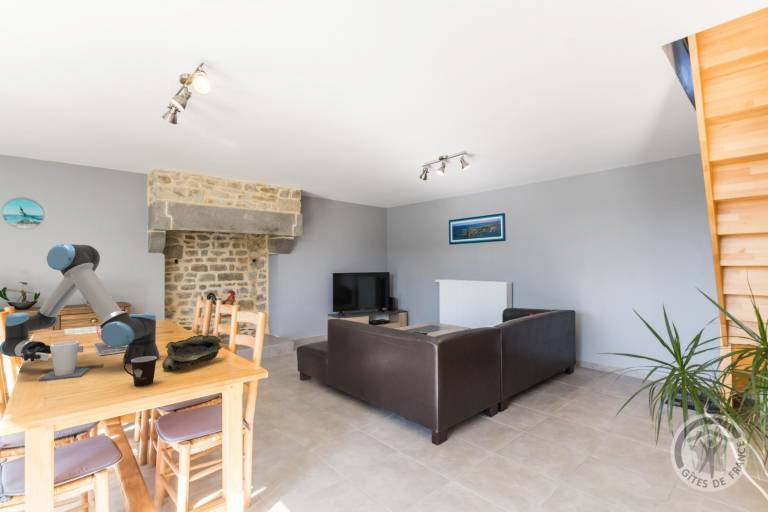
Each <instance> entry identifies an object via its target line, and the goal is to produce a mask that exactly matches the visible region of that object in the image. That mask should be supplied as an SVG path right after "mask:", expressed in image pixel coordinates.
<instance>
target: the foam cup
mask: <svg viewBox="0 0 768 512" xmlns="http://www.w3.org/2000/svg"><path fill="white" fill-rule="evenodd" d="M49 346H50V351H51V359H52V360H51V361H52V366H53V367H52V368H53V369H54V373H55V375H56V376H62V375H68V374H72V373H74V371H75V367H76V364H77V360H78V359H77V358H78V354H79V352H78V348H79V346H80V341H79V340H68V341H67V340H66V341H59V342H53V343H51V344H50V345H49Z"/></svg>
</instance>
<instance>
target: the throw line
mask: <svg viewBox="0 0 768 512" xmlns="http://www.w3.org/2000/svg"><path fill="white" fill-rule="evenodd" d="M90 367H91V369H98V368H103V367H104V363H102V364H93V365H92V364H89V365H82V366H78V365H77V366H75V369H79V368H90ZM51 371H54V368H47V369H42V370H40V374H48V373H49V372H51Z"/></svg>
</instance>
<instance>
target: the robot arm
mask: <svg viewBox="0 0 768 512" xmlns="http://www.w3.org/2000/svg"><path fill="white" fill-rule="evenodd" d="M100 262H101V255H100V253H99V251H98V250H97V249H96V248H95V247H94V246H91V245H88V244H73V243H71V244H70V243H60V244H56V245H53V246H52V247H51V248H50V249H49V250H48V252H47V255H46V264H47V265H48V266H49V268H51V269H53V270H55V271H59V272H60V273H61V274H62V275H63V278H62V279H61V281H60V282H59V283H58V285H57V286H56V287H55V288H54V290H53V291H52V292H51V294H50V295H49V296H48V298H47V299H46V300H45V302H44V303H43V304H42V306H41V307H40V308H39V310H38V311H37V313H35V314H32V315H29V313H27V312H15V313H9V314H7V315H6V316H5V321H4V326H5V327H4V328H5V329H4V330H5V331H4V333H5V334H4V341H3V342H1V344H0V354H1V355H3V356H6V357H10V358H12V357H13V358H22V359H23V361H24V362H26V361H27V362H28V361H29V360H30V362H35V360H37V361H44V362H45V361H46V362H47V361H49V355H50V354H51V351H50V345H49V344H47V345H46V343H45V342H42V341H38V340H37V341H36V340H29V333H30V332H35V331H39V330H45V329H50V328H53V327H54V326H56V325H57V324H58V322H59V315H60V313H61V312H62V310H63V309H64V308H65V306H66V305H67V304H68V302H70V300H71V299H72V297H73V296H74V295H75V293H76V292H77V291H79V292H80V294H81V295H82V296H83V297H84V299H85V301H86V302H87V303H88V305H89V306H90V308H91V310H93V312H94V313H95V315H96V317H98V319H99V320H100V324H99V327H100V329H101V330H100V339H101V340H102V343H104V344H105V345H107V346H108V347H111V348H122V347H126V349H125V352H124V355H123V357H122V363H123V364H125V363H127V362H131V360H132V359H135V358H139V357H146V356H154V357H157V359H156V361H157V360H159V359H160V357H161V356H160V355H161V354H160V350H159V349H158V346H157V344H156V340H157V339H156V338H157V336H156V335H157V334H156V333H157V332H156V330H157V326H156V325H157V320H156V315H155V314H154V313H131V314H129V312H128V311H123V310H122V308H120V306H119V305H118V304H117V302H116V301H115V299H114V298H113V296H112V295H111V293H109V291H108V290H107V288H106V287H105V285H104V284H103V283H102V281H101V279H99V277H98V276H97V274H96V270H97V268H98V267H99V264H100ZM78 353H79V354H80V353H82V354H83V353H84V345H79V348H78ZM51 355H52V354H51ZM127 365H130V364H129V363H128V364H127Z"/></svg>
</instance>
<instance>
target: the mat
mask: <svg viewBox="0 0 768 512" xmlns="http://www.w3.org/2000/svg"><path fill="white" fill-rule="evenodd" d="M91 369H92V368H91V367H90V368H79V369H75V371H74V373H72V374H68V375H62V376H56V375H55V373H54V371H51V372H48V373H45V375H43V376H42V377H40V378H38V382H46V381H55V380H64V379H74V378H81V377H83V376H84V375H85V374H86V373H88V372H89V371H90V370H91Z"/></svg>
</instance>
